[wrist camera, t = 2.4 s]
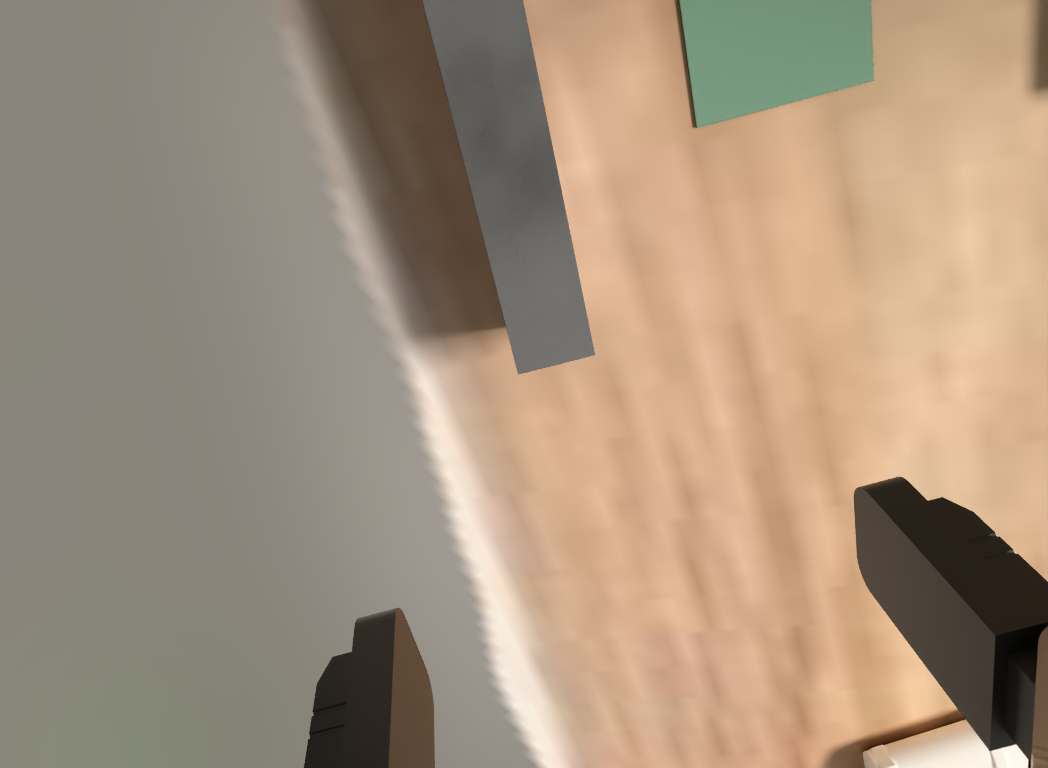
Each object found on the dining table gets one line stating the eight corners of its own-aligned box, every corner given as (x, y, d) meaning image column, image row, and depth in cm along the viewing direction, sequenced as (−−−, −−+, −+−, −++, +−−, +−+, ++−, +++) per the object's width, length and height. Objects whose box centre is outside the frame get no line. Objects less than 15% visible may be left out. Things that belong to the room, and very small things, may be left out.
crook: (365, -227, 21) (353, -272, 18) (637, -296, 21) (679, -355, 18) (506, 327, 29) (518, 374, 25) (708, 276, 29) (748, 316, 25)
